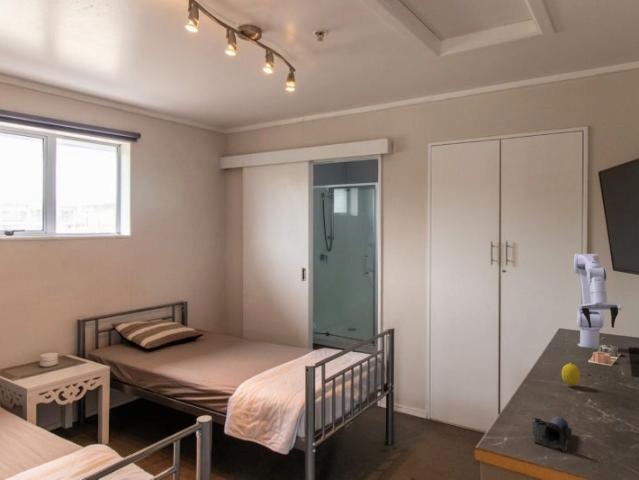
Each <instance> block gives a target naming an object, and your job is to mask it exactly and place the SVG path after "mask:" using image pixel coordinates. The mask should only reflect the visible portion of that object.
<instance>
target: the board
mask: <svg viewBox="0 0 639 480" xmlns="http://www.w3.org/2000/svg"><path fill="white" fill-rule="evenodd" d="M597 352H603V353H607V354H610V363H599V362H596V361H593V356H591V358H589V360H588V361H587V362H588V363H593V364H598V365H599V364H600V365H603V366H604V365H605V366H611V367H612V366H613V365H614V363H615V362H616V361H617V360H618V359H619V357H620V356H621V353H619V348H618V346H615V345H614V346H613V345H611V344H607V345H605V344H601V345H600V344H599V345H598V349H597Z"/></svg>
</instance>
